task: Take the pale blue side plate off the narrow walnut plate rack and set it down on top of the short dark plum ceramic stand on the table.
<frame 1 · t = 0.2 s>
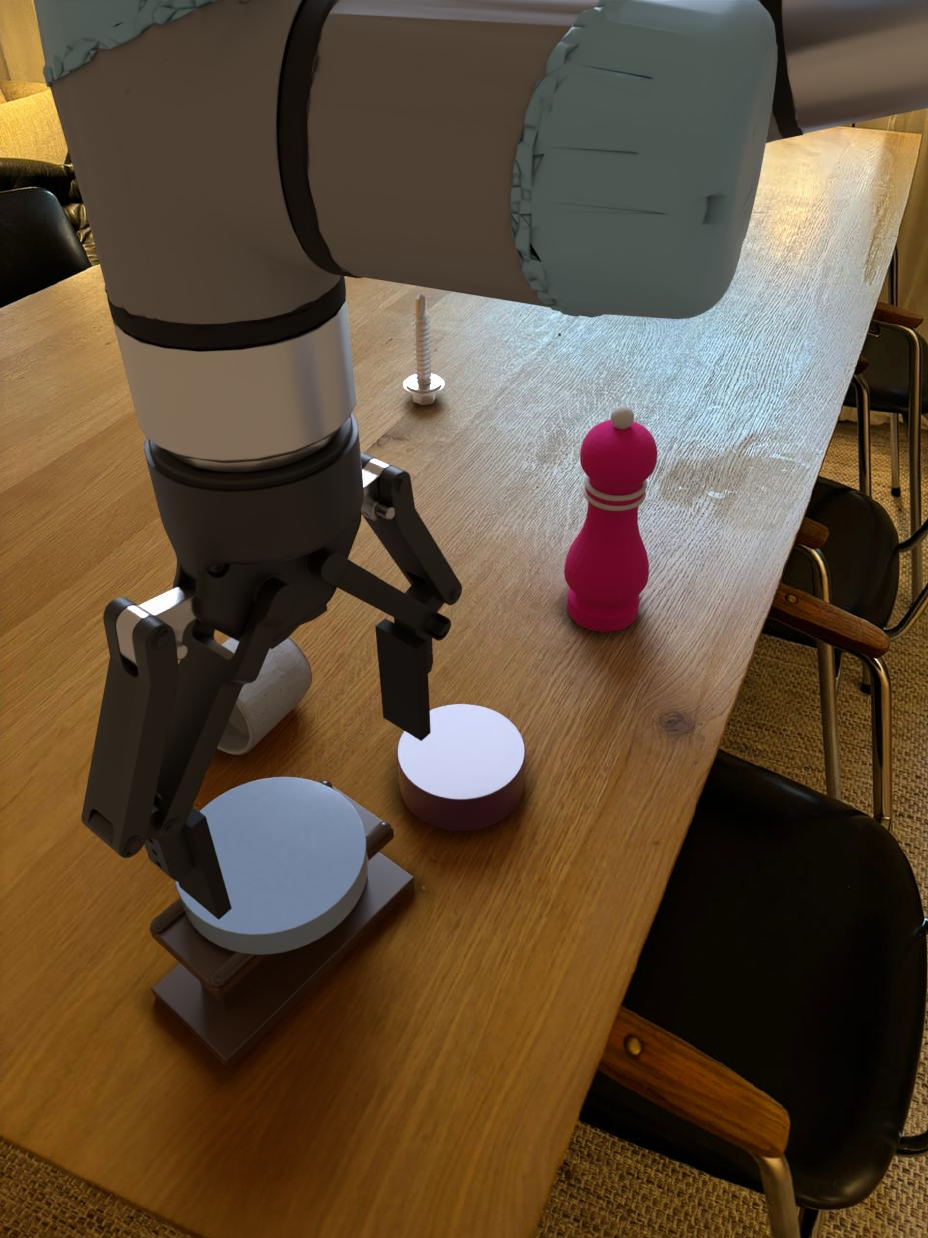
hand: (314, 805, 49), 18 cm above the table, tool pointing down, fingers open, 13 cm apart
ceramic mug: (239, 716, 79), on the table
screw: (424, 401, 118), on the table
plum stand: (461, 781, 73), on the table
side plate: (275, 870, 59), point 7 cm above the table, touching plate rack
pepper mill: (602, 611, 88), on the table
plate rack: (290, 940, 63), on the table
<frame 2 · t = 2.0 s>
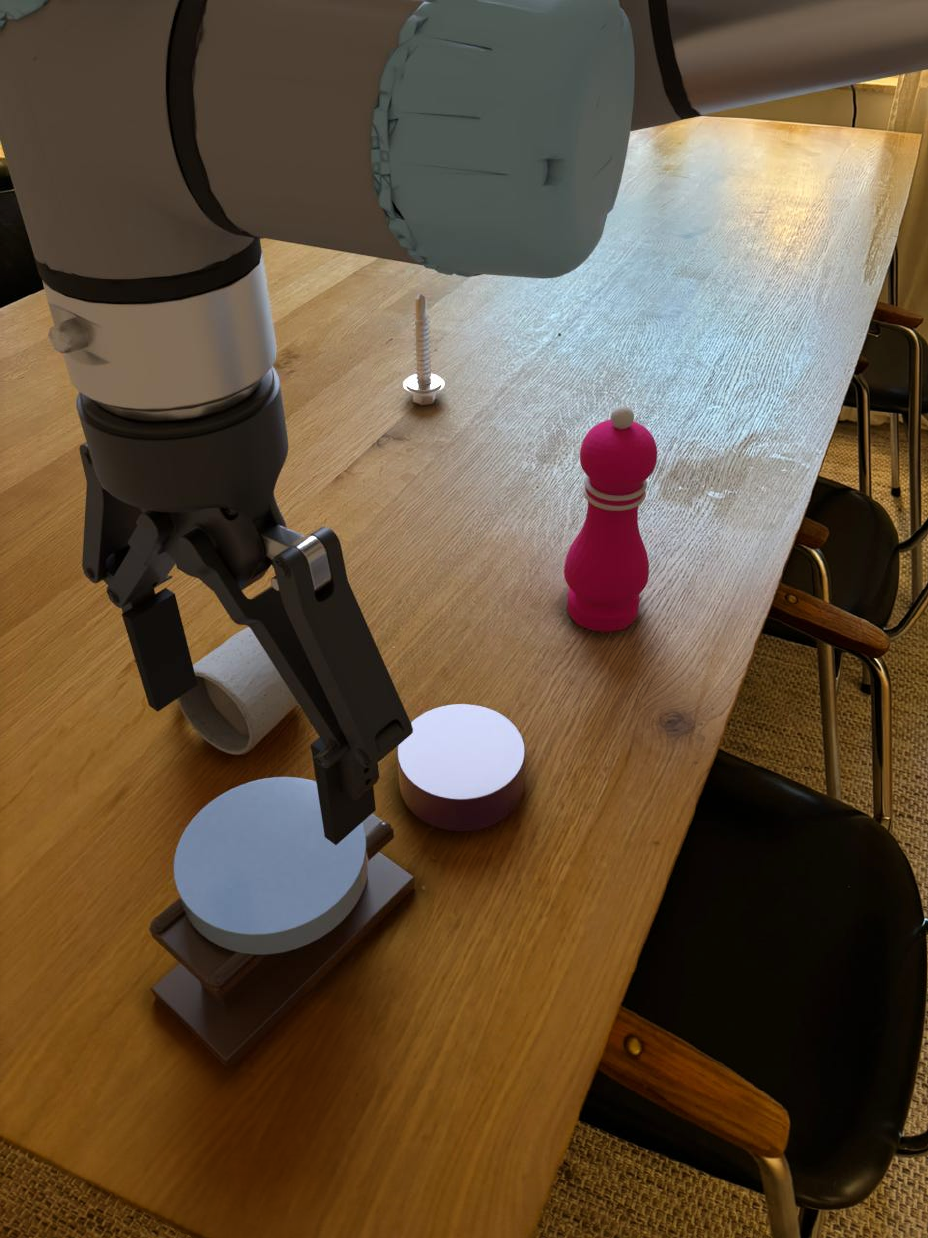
hand: (256, 755, 51), 18 cm above the table, tool pointing down, fingers open, 13 cm apart
nothing on the table moved.
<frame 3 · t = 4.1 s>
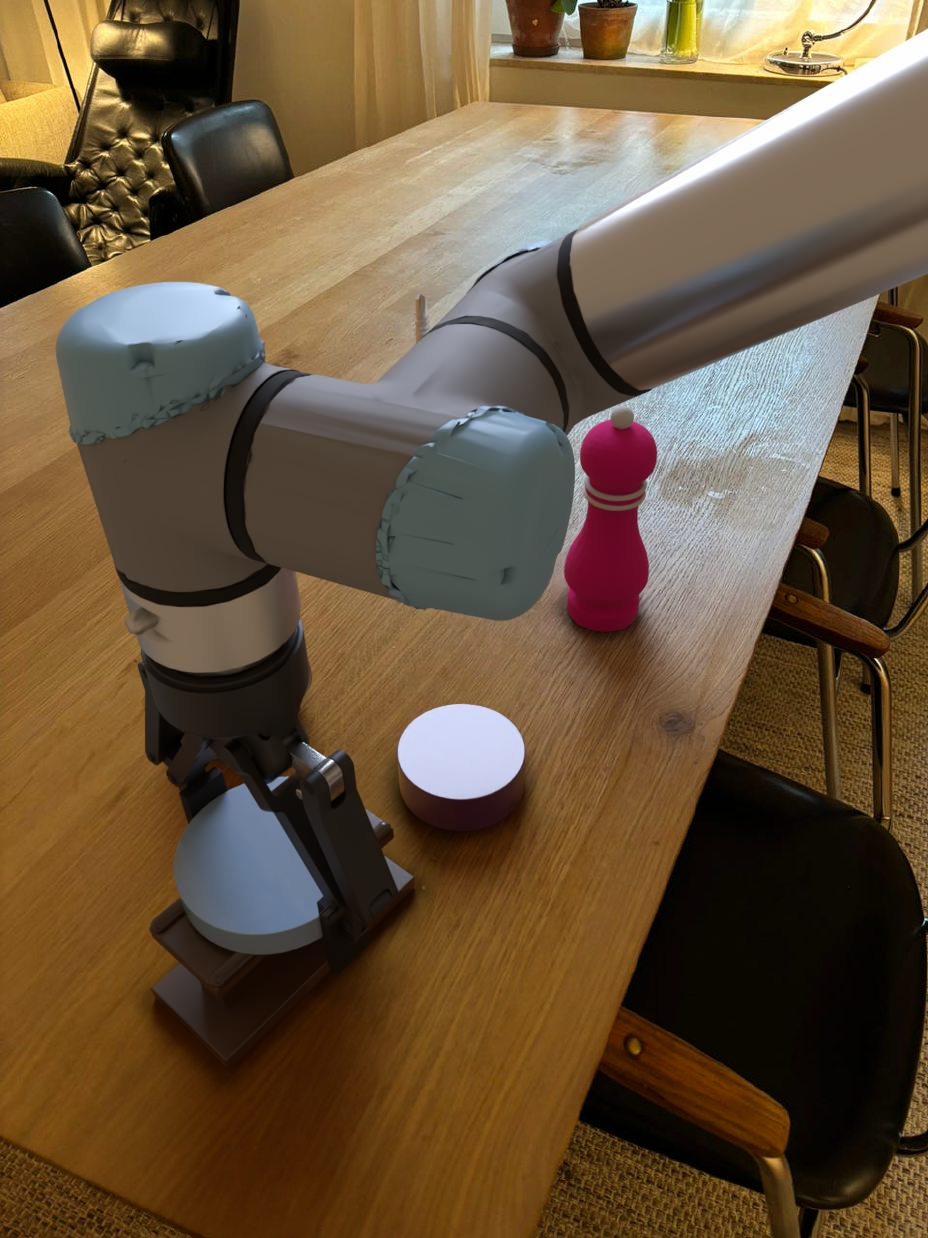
hand: (281, 899, 60), 5 cm above the table, tool pointing down, fingers closed on side plate, 11 cm apart
side plate: (275, 870, 59), point 8 cm above the table, touching gripper, plate rack
everything else where it was.
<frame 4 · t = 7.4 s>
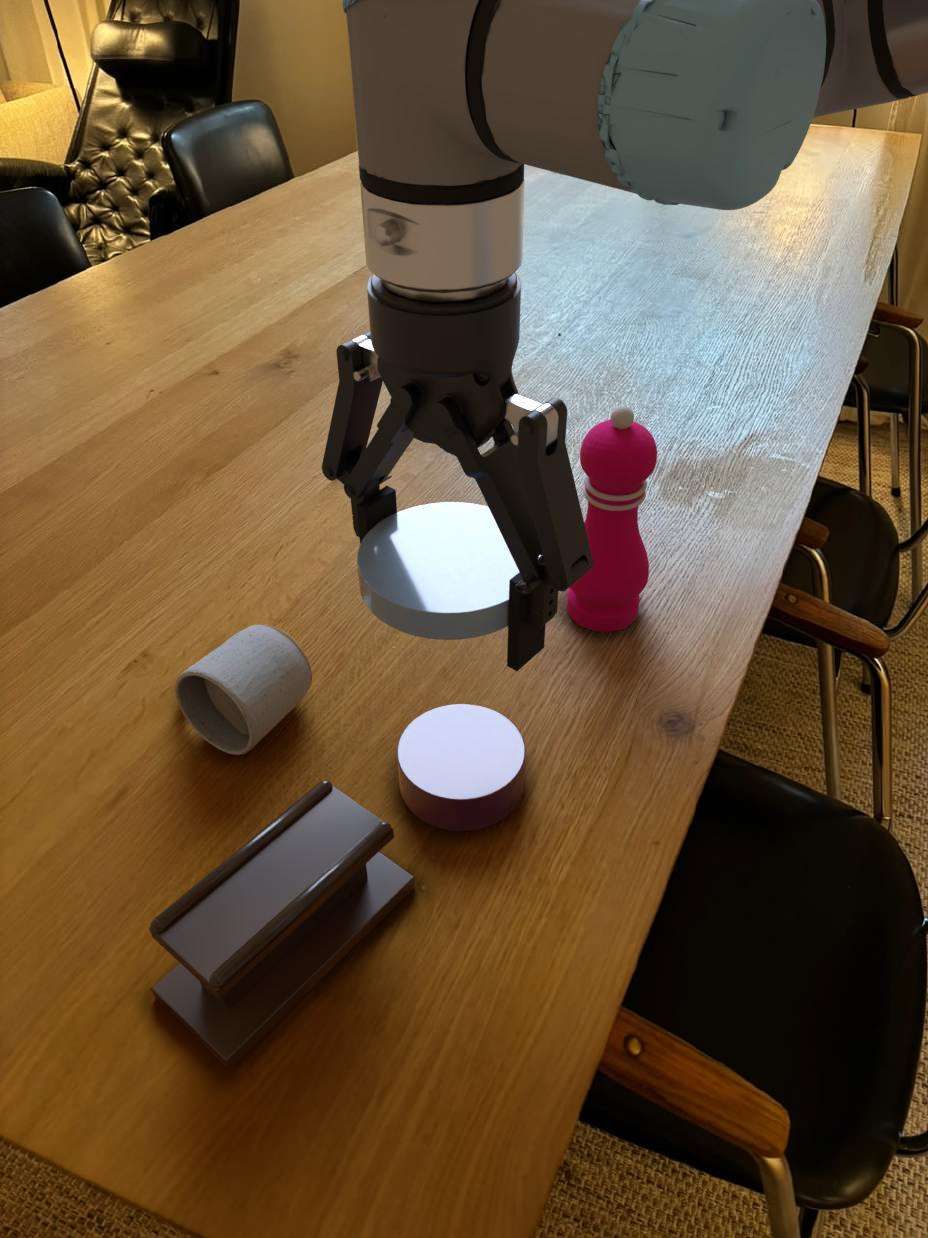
hand: (450, 616, 62), 16 cm above the table, tool pointing down, fingers closed on side plate, 11 cm apart
side plate: (450, 579, 60), point 19 cm above the table, touching gripper
everything else where it was.
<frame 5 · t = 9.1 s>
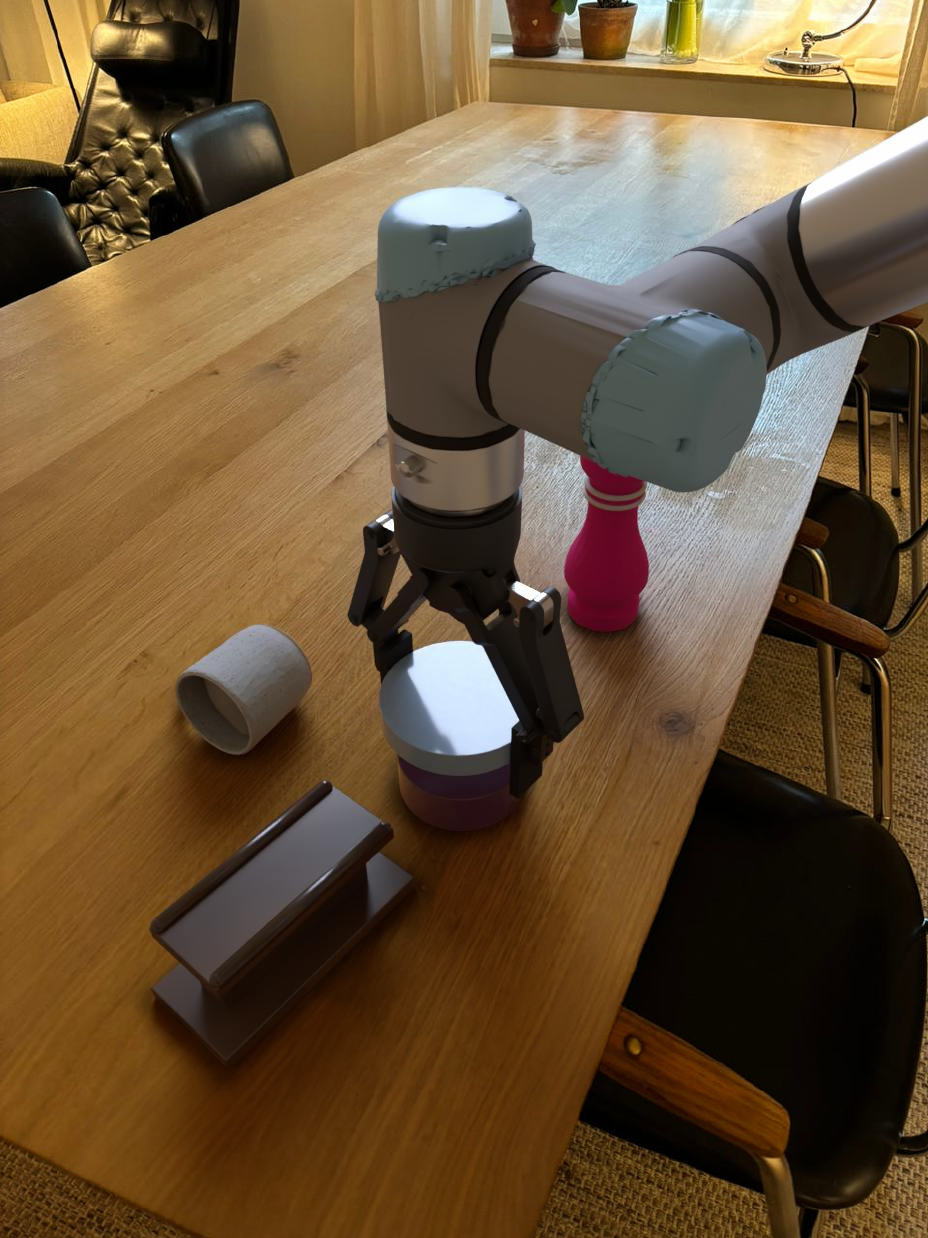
hand: (460, 743, 71), 4 cm above the table, tool pointing down, fingers closed on side plate, 11 cm apart
side plate: (459, 715, 69), point 7 cm above the table, touching gripper
everything else where it was.
when the fingers open (0 cm above the table, at t = 10.7 s): side plate stays where it is, resting on plum stand.
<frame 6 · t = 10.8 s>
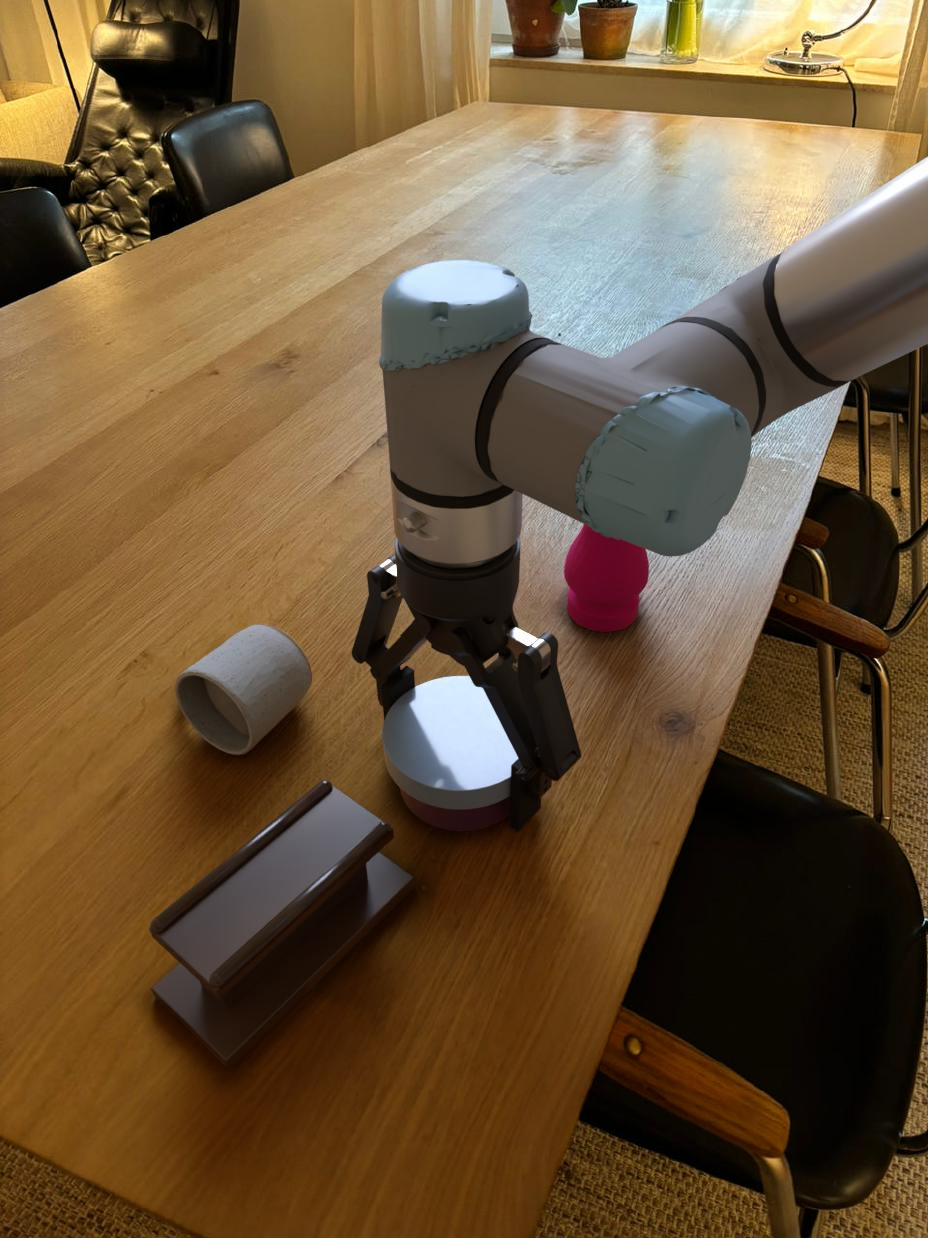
hand: (461, 776, 73), 0 cm above the table, tool pointing down, fingers open, 11 cm apart
side plate: (460, 748, 71), point 4 cm above the table, touching plum stand
everything else where it was.
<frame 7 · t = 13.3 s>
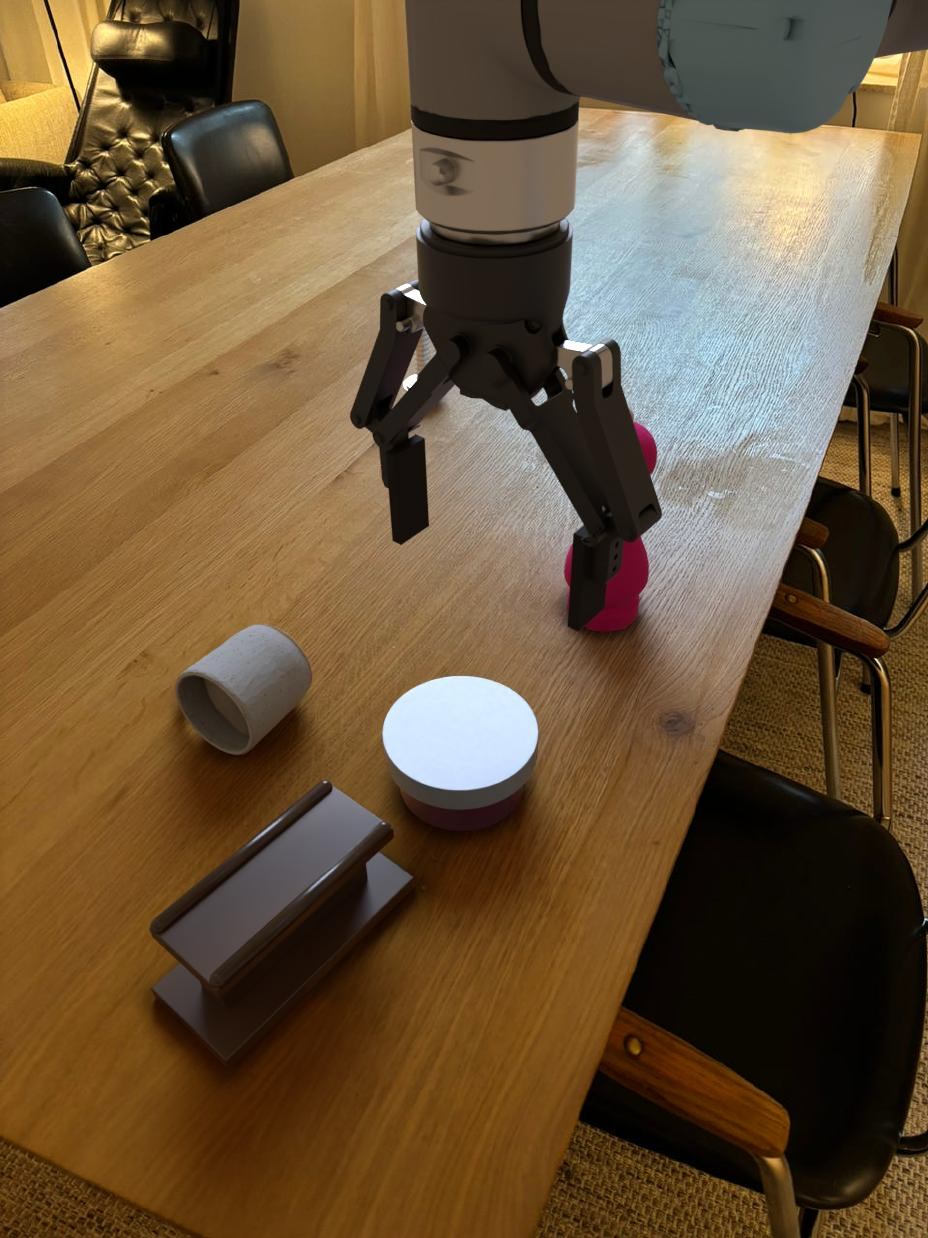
hand: (493, 573, 61), 19 cm above the table, tool pointing down, fingers open, 13 cm apart
nothing on the table moved.
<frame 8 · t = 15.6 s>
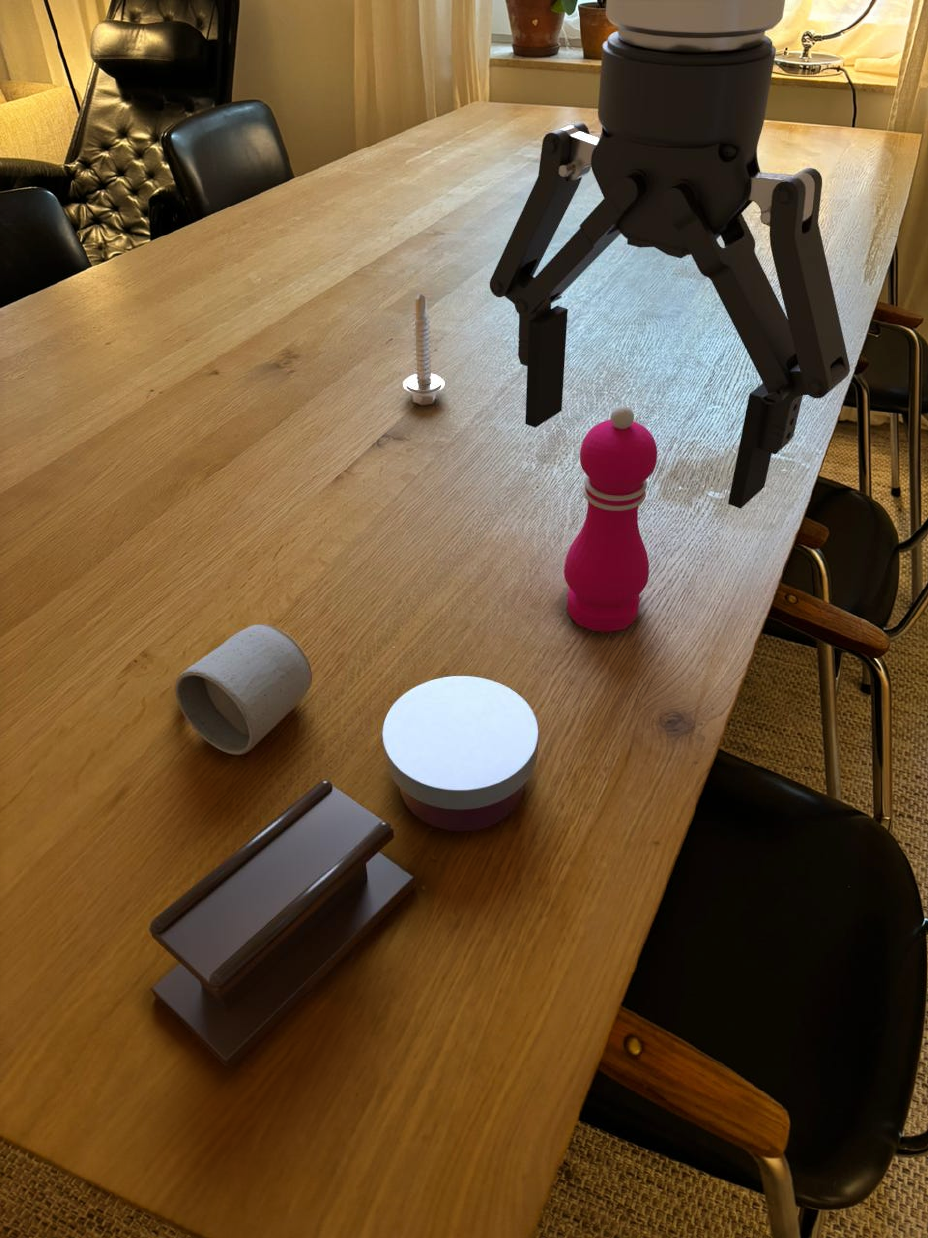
hand: (638, 454, 57), 27 cm above the table, tool pointing down, fingers open, 13 cm apart
nothing on the table moved.
at the end: side plate 0.1 cm from the plum stand (horizontally); side plate 0.1 cm off-centre on the plum stand, point 3.5 cm above the plum stand's base; side plate tilted 0° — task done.
